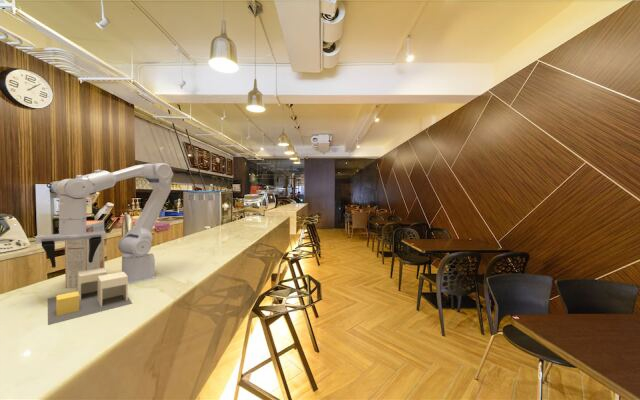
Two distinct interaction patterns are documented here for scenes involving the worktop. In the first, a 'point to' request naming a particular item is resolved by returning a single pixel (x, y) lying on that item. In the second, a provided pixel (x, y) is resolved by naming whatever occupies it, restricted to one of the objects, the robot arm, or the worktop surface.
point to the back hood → (89, 280)
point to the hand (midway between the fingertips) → (72, 264)
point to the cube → (67, 303)
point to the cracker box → (82, 255)
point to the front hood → (112, 286)
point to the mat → (85, 306)
